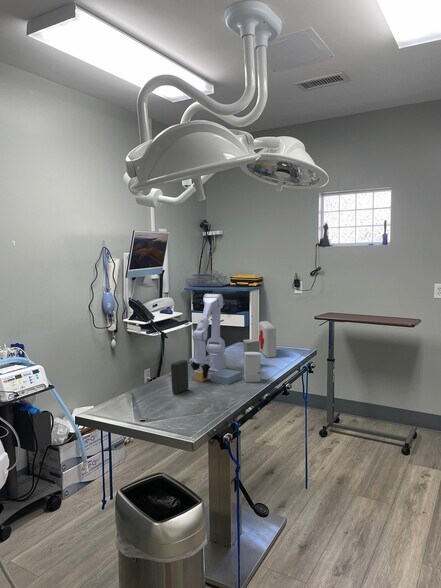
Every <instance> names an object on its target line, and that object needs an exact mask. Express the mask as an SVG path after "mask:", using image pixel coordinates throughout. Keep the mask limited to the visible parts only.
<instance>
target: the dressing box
mask: <svg viewBox="0 0 441 588" xmlns="http://www.w3.org/2000/svg"><path fill="white" fill-rule="evenodd" d="M242 378H243V372H242V371H239V370H233V369H230V368H225V369H223V370H221V371H218V372H217V371H215V372H214V373H212V374H210V382H211V383H212V382H213V383H217V384H222V385H227V386H228V385H231V384H233V383H234V382H237V381H240V380H242Z"/></svg>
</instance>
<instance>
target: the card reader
mask: <svg viewBox="0 0 441 588" xmlns="http://www.w3.org/2000/svg"><path fill="white" fill-rule="evenodd" d="M188 362H189V361H188V360H186V359H181V360H177V361H176V362H175V361H174V362H172V363H171V365H170V372H171V373H170V375H171V376H170V377H171V392H172V393H173V394H176V395H179V394H181V393H183V392H185V391H188V390H189V364H188Z"/></svg>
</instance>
